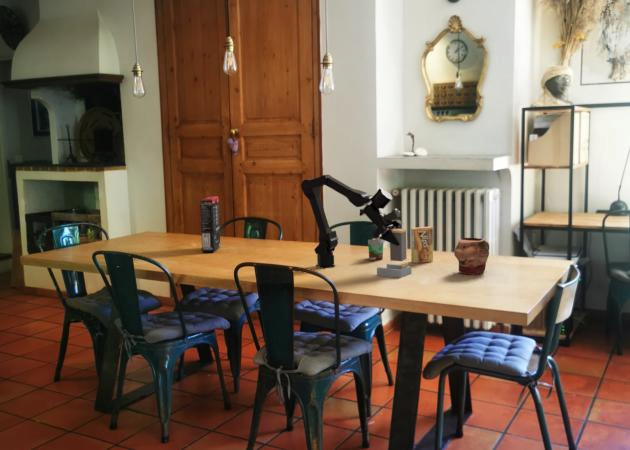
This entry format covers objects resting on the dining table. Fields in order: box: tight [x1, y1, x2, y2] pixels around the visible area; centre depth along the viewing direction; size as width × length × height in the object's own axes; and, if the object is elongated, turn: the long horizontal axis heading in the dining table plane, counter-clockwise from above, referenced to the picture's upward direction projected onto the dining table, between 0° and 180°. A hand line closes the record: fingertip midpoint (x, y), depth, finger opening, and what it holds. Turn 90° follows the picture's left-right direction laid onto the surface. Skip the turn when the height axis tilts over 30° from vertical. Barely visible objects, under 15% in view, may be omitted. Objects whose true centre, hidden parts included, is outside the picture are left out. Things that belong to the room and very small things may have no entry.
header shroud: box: [376, 262, 413, 279], centre depth 270 cm, size 11×9×5 cm
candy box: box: [410, 226, 434, 264], centre depth 292 cm, size 9×4×15 cm, turn 104°
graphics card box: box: [199, 195, 221, 253], centre depth 339 cm, size 17×7×27 cm, turn 178°
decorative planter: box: [453, 237, 490, 276], centre depth 268 cm, size 20×12×14 cm, turn 134°
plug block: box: [389, 228, 407, 262], centre depth 271 cm, size 5×5×12 cm
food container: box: [367, 235, 386, 262], centre depth 301 cm, size 12×6×10 cm, turn 161°
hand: (401, 244), depth 271 cm, fingers closed on plug block, 5 cm apart
